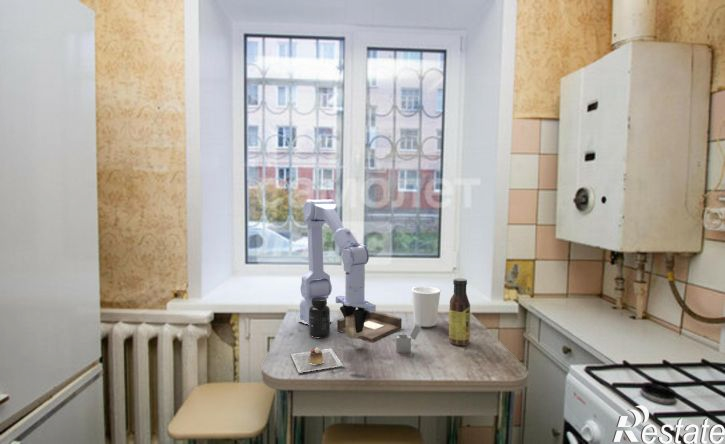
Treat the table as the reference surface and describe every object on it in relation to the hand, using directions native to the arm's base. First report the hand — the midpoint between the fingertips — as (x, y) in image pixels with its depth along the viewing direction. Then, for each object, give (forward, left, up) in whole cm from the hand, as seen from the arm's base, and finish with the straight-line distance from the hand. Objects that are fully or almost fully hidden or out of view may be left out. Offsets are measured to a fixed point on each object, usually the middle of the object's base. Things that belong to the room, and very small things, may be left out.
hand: (354, 330), depth 115 cm
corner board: (-6, +14, -5) cm, 16 cm away
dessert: (-1, -15, -6) cm, 16 cm away
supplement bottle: (-15, -1, -5) cm, 16 cm away
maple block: (0, 0, -2) cm, 2 cm away
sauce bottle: (+22, +24, -5) cm, 33 cm away
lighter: (+14, +8, -5) cm, 17 cm away
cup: (+6, +30, -5) cm, 31 cm away
